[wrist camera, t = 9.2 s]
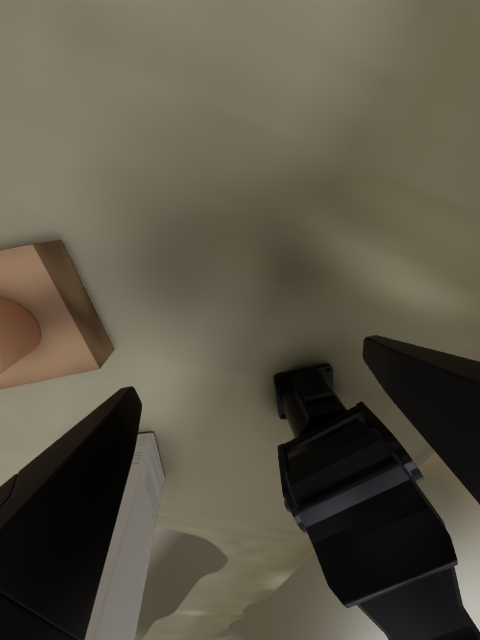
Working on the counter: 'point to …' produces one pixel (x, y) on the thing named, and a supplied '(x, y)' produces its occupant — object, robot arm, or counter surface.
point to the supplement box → (129, 548)
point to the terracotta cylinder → (16, 333)
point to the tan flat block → (52, 314)
